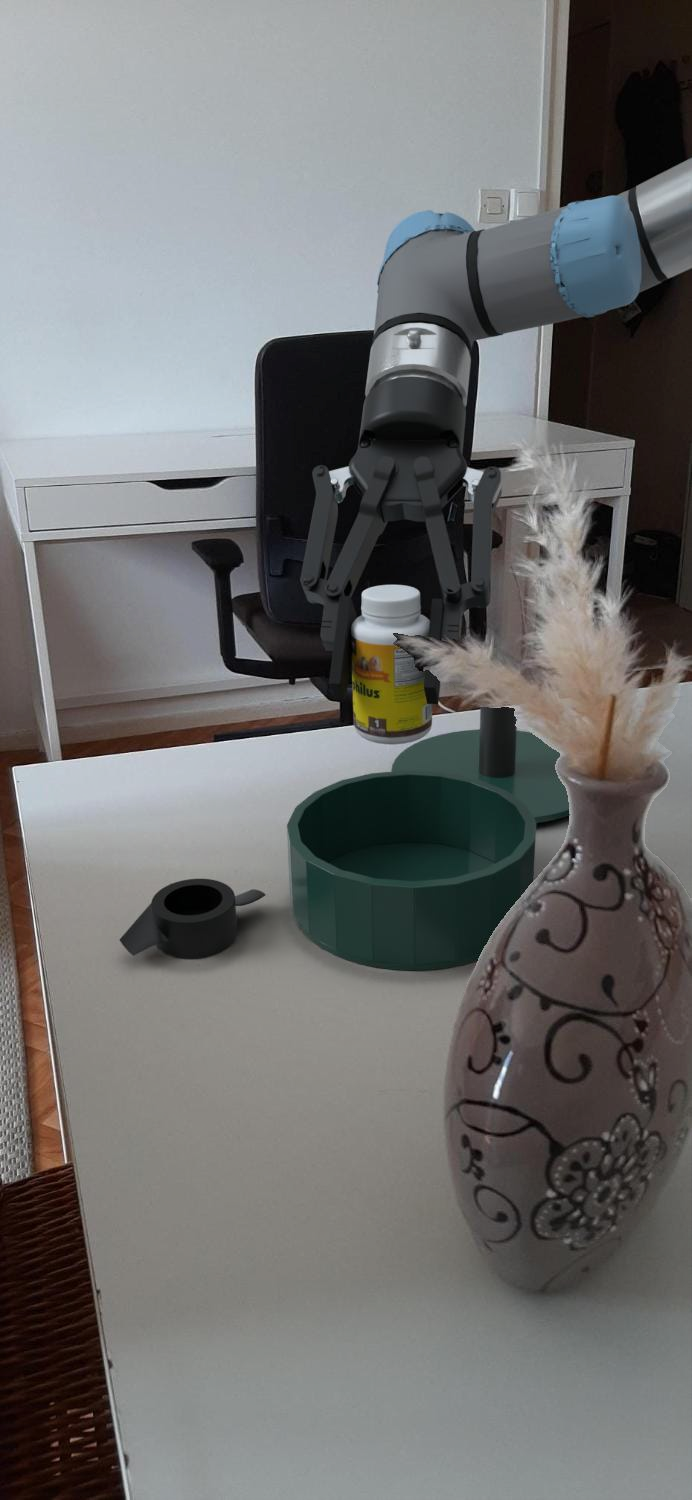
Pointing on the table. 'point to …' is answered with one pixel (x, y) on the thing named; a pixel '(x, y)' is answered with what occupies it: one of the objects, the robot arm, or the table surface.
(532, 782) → the lid
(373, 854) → the tin
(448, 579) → the robot arm
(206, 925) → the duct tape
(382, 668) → the supplement bottle
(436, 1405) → the table surface
